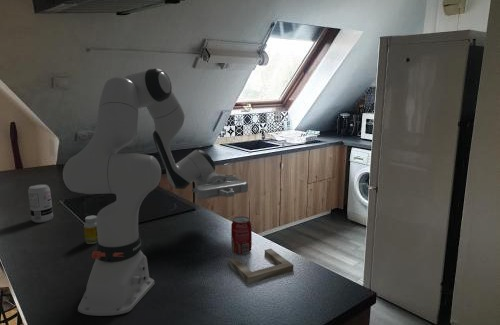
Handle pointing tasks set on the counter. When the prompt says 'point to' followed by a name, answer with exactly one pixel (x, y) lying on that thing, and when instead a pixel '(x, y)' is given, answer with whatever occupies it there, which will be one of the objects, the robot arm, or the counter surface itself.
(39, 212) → the supplement can
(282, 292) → the counter surface
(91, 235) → the supplement bottle
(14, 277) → the counter surface
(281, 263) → the birch bay
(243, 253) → the soda can
